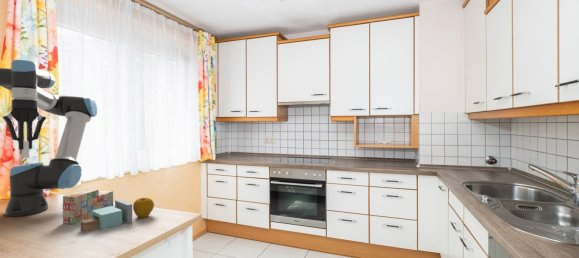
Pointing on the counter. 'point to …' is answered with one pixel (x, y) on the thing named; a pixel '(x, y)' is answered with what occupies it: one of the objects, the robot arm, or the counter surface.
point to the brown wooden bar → (90, 224)
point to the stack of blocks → (84, 204)
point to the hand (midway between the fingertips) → (25, 157)
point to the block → (108, 217)
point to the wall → (124, 210)
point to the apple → (143, 207)
